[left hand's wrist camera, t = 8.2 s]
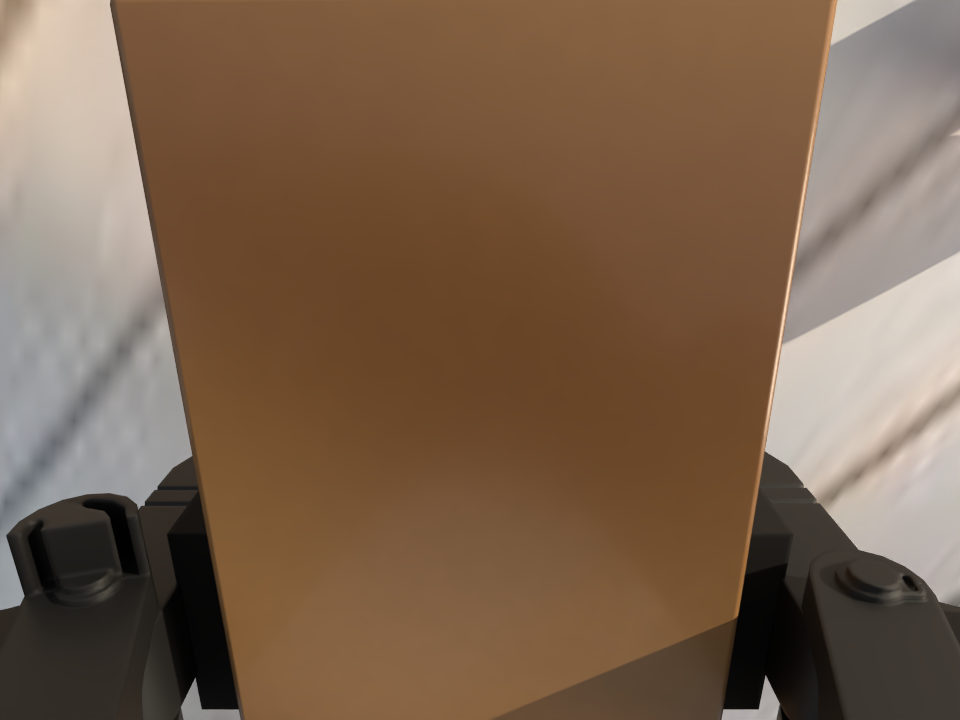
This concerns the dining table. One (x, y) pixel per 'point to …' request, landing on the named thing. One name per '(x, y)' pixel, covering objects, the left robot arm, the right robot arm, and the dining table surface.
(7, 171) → the dining table surface
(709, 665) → the beam
